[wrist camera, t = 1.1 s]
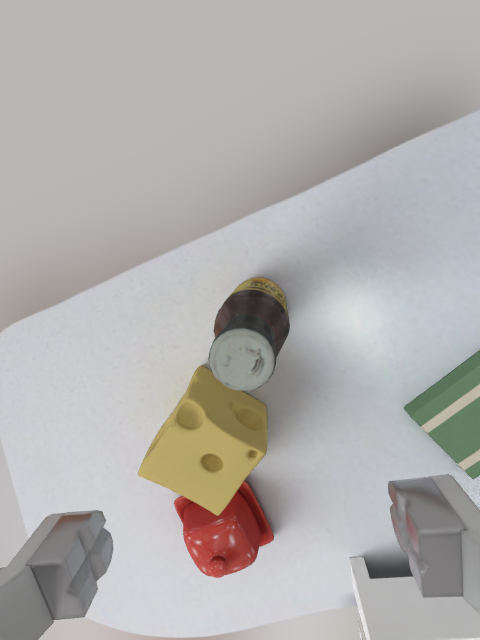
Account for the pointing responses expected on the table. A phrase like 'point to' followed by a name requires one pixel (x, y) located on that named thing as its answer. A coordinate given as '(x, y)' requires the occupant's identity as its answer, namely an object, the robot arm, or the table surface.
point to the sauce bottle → (249, 334)
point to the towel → (454, 414)
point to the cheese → (208, 443)
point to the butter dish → (224, 533)
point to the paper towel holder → (409, 610)
